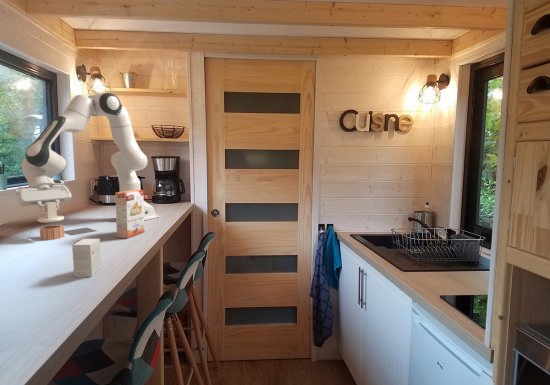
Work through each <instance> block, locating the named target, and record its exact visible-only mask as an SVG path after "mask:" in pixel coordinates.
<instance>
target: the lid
mask: <svg viewBox="0 0 550 385" xmlns="http://www.w3.org/2000/svg"><path fill="white" fill-rule="evenodd" d="M43 206H46V208H47V211H44V216H41V217H38V218H37V222H38V223H57V222H62V221H64V220H65V216H64V215H58V213H57V211H58V210H57V208H56V202H45V203H44V204H43Z"/></svg>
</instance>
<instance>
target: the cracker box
mask: <svg viewBox="0 0 550 385" xmlns="http://www.w3.org/2000/svg"><path fill="white" fill-rule="evenodd" d="M144 195H145V194H144V189H141V190H129V191H123V192H120V191H118V192H115V215H116V216H115V218H116V219H115V220H116V221H115V222H116V238H118V239H119V238H120V239H129V238H131V237H134V236H136V235H139V234H143V233H144V232H145V220H144V201H145V200H144V199H145V198H144Z"/></svg>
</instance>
